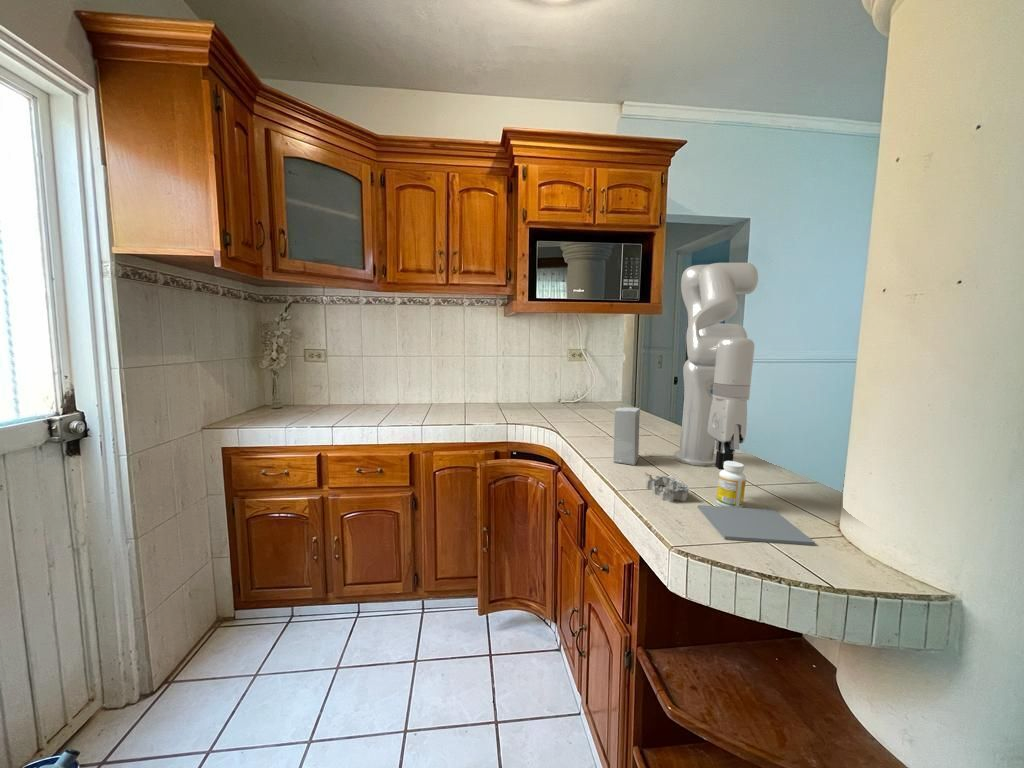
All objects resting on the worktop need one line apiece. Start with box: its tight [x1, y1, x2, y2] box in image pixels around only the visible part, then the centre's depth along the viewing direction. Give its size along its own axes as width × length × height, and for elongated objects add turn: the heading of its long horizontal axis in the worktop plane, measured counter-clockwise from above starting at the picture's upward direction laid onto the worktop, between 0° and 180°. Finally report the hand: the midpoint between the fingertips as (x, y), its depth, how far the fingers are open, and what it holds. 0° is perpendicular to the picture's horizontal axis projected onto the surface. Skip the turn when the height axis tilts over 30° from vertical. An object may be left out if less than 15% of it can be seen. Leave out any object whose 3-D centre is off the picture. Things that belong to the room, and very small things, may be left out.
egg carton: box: [644, 472, 691, 503], centre depth 99 cm, size 10×7×4 cm
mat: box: [697, 504, 816, 546], centre depth 83 cm, size 14×16×1 cm
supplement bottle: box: [716, 460, 747, 508], centre depth 93 cm, size 5×5×10 cm
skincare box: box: [612, 406, 641, 466], centre depth 122 cm, size 8×7×16 cm
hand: (723, 468), depth 97 cm, fingers closed
